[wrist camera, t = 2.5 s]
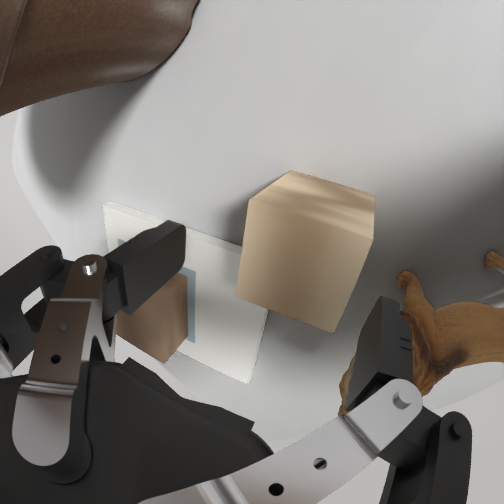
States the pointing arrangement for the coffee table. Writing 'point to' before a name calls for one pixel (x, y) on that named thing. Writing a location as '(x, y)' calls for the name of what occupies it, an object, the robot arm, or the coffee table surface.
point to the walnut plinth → (158, 320)
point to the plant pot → (83, 44)
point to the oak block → (305, 248)
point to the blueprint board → (204, 295)
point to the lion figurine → (445, 334)
